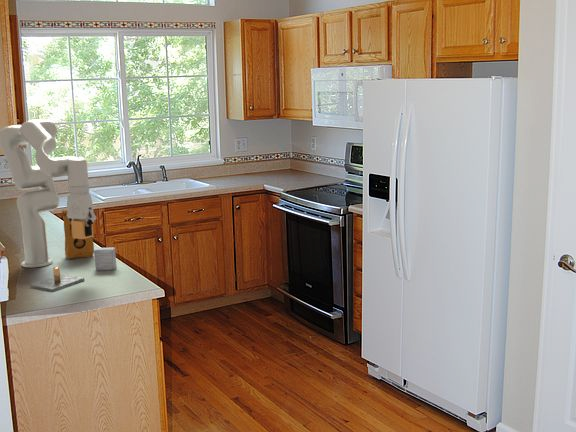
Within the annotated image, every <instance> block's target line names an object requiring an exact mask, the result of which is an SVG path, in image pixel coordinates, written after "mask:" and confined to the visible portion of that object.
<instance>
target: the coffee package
mask: <svg viewBox="0 0 576 432" xmlns="http://www.w3.org/2000/svg"><path fill="white" fill-rule="evenodd" d="M61 211H62V213H61V215H62V217H63V218H62V219H63V231H64V256H65V257H66V258H67V259H84V258H93V257H94V250H95V244H94V237H89V238H86V239H76V238H73V236H72V224H71V222H70V220H69V219H68V217H67V216H66V215H67V209H62V210H61ZM75 220H76V219H75Z"/></svg>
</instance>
